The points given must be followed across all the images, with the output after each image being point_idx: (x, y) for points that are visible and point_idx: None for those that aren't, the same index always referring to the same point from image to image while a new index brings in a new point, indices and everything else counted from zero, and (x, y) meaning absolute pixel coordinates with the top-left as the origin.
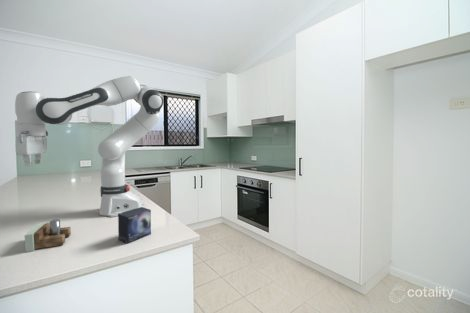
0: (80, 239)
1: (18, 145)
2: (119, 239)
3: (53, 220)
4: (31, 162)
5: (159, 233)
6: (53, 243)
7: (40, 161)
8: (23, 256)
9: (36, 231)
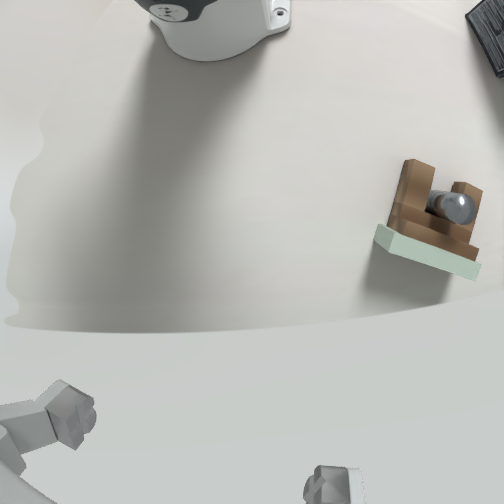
0: (454, 144)
1: None
2: (501, 76)
3: (459, 213)
4: (338, 494)
5: None
6: None
7: (60, 396)
8: None
9: (463, 255)
